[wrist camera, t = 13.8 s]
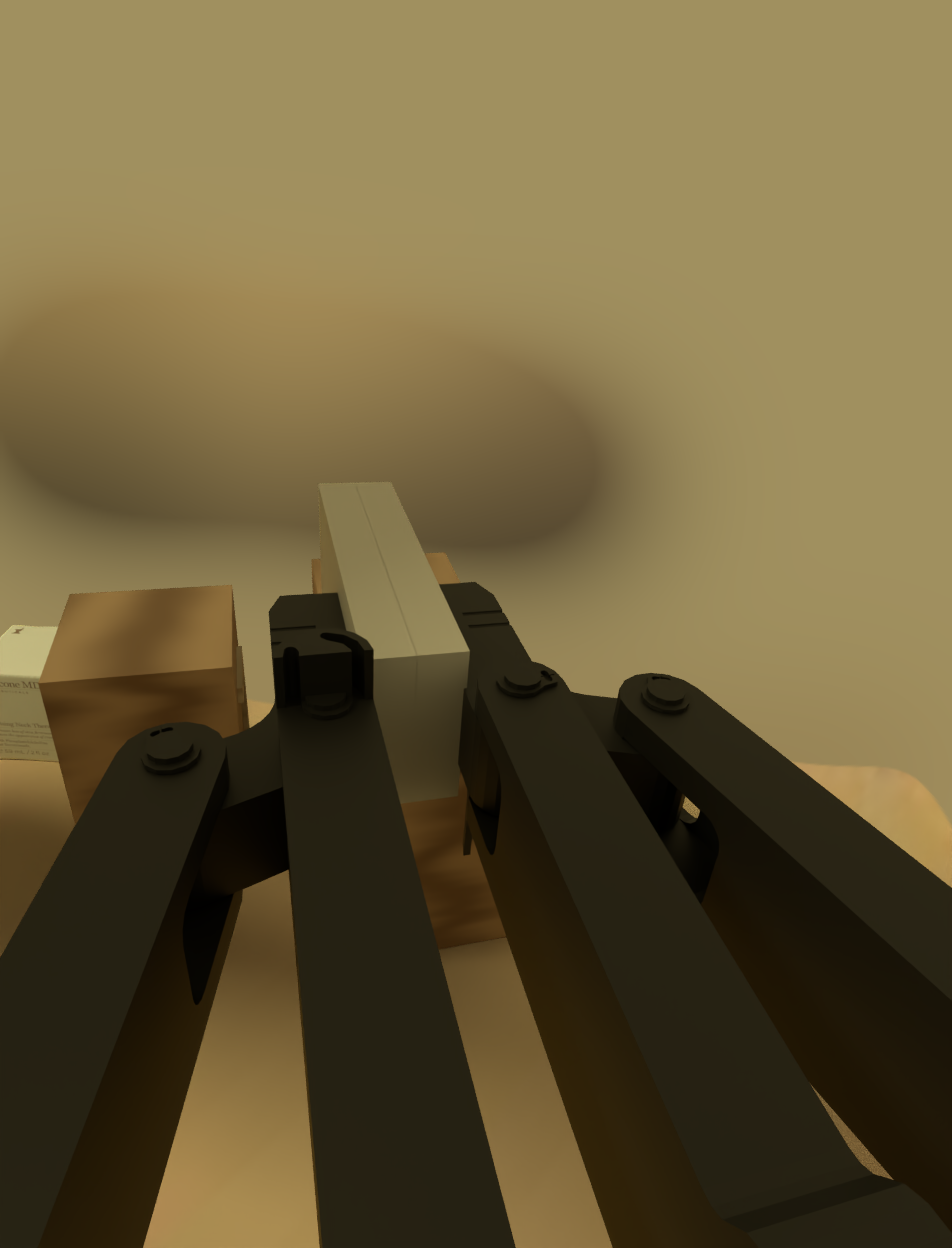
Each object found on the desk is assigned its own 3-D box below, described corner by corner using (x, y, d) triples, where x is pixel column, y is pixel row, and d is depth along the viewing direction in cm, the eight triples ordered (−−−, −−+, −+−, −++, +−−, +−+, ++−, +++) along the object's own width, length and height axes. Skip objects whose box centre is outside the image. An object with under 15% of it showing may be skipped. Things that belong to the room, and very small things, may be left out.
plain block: (352, 965, 41) (349, 764, 34) (334, 840, 49) (328, 654, 42) (513, 935, 44) (541, 742, 37) (472, 820, 51) (489, 640, 44)
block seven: (90, 881, 45) (38, 683, 38) (111, 773, 52) (70, 591, 45) (257, 857, 47) (238, 666, 40) (253, 757, 55) (237, 582, 48)
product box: (-10, 760, 53) (-39, 671, 49) (34, 706, 58) (11, 621, 54) (82, 765, 53) (60, 677, 49) (117, 711, 58) (100, 627, 54)
